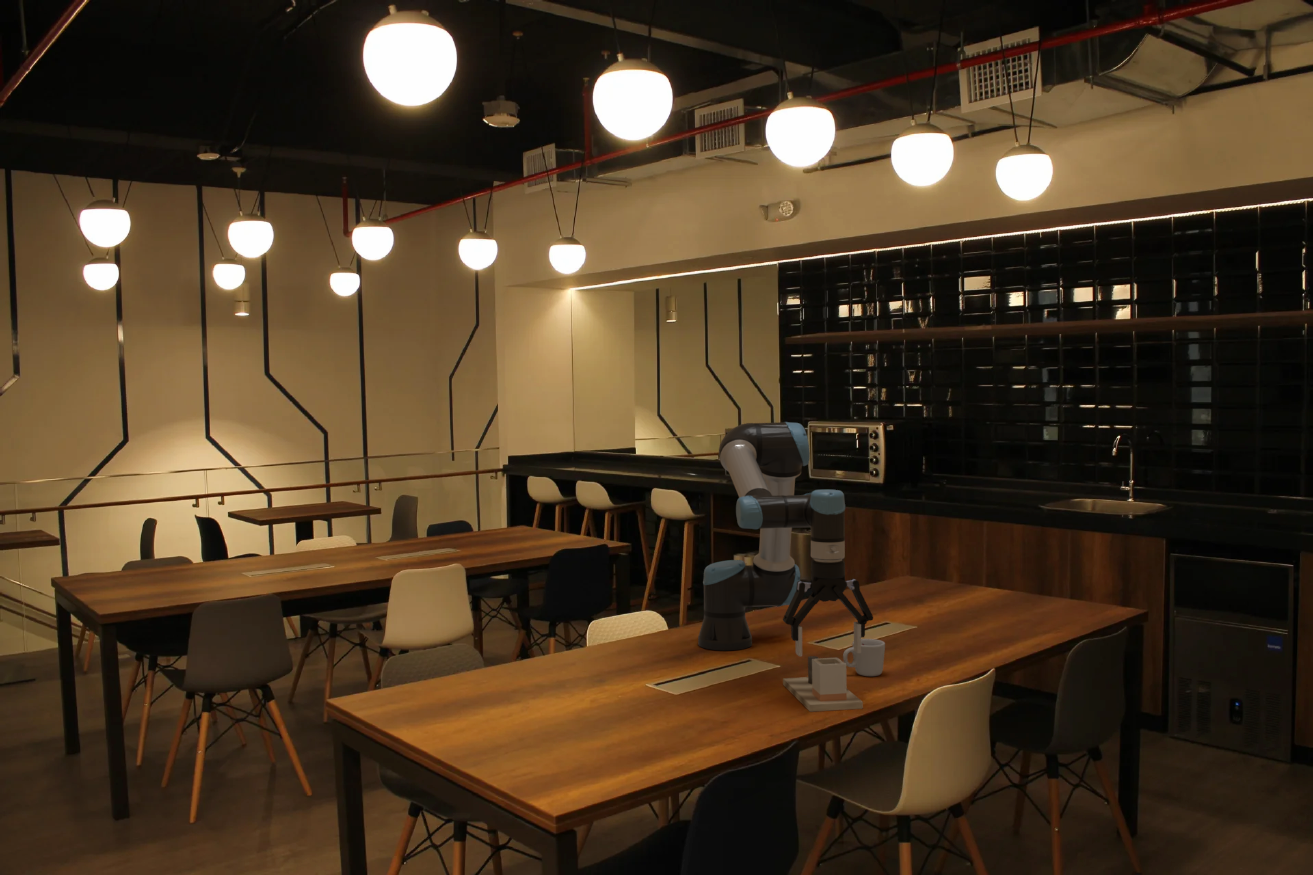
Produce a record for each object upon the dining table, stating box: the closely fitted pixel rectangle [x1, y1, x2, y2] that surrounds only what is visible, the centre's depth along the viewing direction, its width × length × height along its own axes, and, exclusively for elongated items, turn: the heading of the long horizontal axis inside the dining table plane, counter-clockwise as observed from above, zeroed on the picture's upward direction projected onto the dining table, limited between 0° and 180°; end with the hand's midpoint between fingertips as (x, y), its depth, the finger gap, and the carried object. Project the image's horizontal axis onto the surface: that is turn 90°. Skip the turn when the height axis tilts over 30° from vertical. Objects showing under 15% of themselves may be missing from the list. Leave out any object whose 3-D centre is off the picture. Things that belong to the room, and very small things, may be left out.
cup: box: [842, 638, 886, 677], centre depth 248 cm, size 11×8×8 cm
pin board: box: [782, 655, 864, 712], centre depth 230 cm, size 22×12×8 cm, turn 8°
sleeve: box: [812, 657, 848, 701], centre depth 224 cm, size 6×6×8 cm
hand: (828, 653), depth 224 cm, fingers open, 13 cm apart
